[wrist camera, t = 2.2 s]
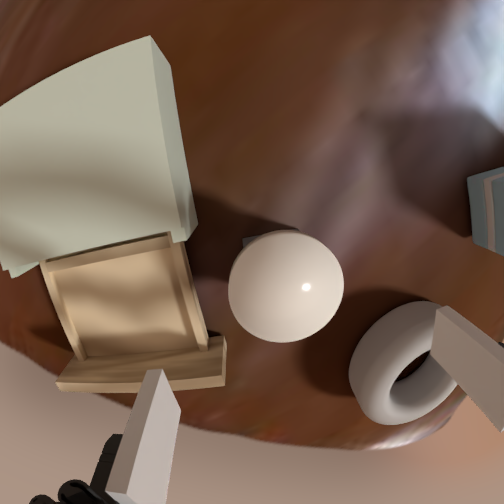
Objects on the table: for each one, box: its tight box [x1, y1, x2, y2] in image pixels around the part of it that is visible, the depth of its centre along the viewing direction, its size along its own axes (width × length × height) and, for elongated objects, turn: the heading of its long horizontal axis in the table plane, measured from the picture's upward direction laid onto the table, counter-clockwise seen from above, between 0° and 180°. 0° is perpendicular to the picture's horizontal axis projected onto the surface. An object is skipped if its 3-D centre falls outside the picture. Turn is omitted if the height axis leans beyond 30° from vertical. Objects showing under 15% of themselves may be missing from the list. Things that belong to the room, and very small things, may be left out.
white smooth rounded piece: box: [228, 230, 344, 342], centre depth 21 cm, size 8×8×2 cm
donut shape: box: [349, 301, 457, 425], centre depth 28 cm, size 15×15×7 cm
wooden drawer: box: [39, 231, 226, 393], centre depth 24 cm, size 16×18×6 cm
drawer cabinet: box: [0, 36, 198, 278], centre depth 20 cm, size 15×18×7 cm
